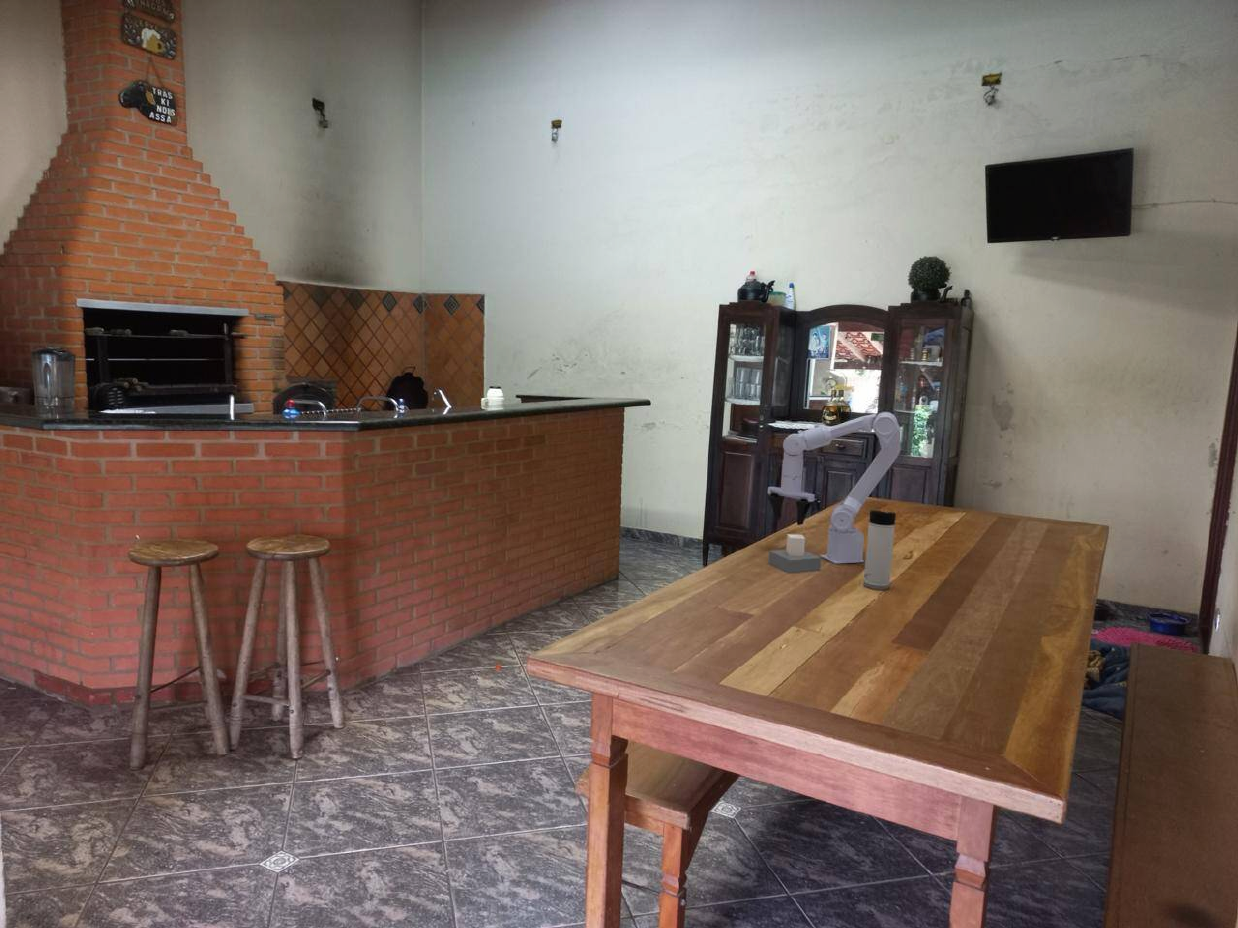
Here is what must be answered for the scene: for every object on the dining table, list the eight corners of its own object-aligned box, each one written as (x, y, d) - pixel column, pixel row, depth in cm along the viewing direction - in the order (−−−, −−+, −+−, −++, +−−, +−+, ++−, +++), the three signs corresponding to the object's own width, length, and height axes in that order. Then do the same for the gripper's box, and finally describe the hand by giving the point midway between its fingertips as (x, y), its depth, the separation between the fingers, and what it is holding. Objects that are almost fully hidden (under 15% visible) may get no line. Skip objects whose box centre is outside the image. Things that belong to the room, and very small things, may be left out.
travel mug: (860, 587, 196) (867, 510, 193) (865, 581, 202) (872, 506, 199) (886, 592, 193) (894, 513, 190) (890, 585, 199) (898, 509, 196)
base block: (798, 562, 219) (799, 548, 219) (820, 571, 210) (821, 557, 209) (768, 564, 215) (769, 550, 215) (789, 574, 206) (790, 560, 206)
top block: (803, 556, 210) (805, 538, 209) (788, 555, 210) (790, 537, 209) (800, 552, 214) (802, 534, 213) (786, 551, 214) (787, 534, 213)
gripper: (821, 478, 221) (817, 524, 223) (778, 470, 231) (775, 515, 233) (808, 480, 216) (804, 528, 218) (764, 473, 226) (761, 518, 228)
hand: (788, 521), depth 225 cm, fingers open, 7 cm apart
